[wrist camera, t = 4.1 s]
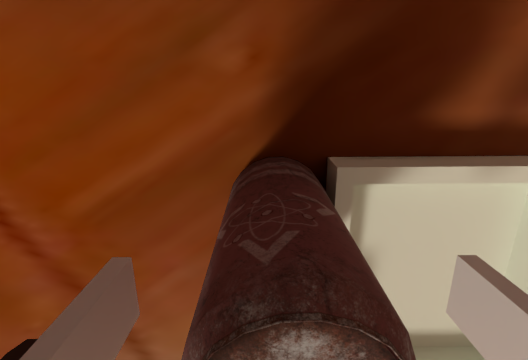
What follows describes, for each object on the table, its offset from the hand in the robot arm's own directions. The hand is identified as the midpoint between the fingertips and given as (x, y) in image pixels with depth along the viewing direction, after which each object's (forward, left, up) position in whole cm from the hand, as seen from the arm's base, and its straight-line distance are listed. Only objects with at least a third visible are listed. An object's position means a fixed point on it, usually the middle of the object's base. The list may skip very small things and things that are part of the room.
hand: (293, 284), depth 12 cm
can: (0, 0, -9) cm, 9 cm away
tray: (+5, +10, -9) cm, 14 cm away
